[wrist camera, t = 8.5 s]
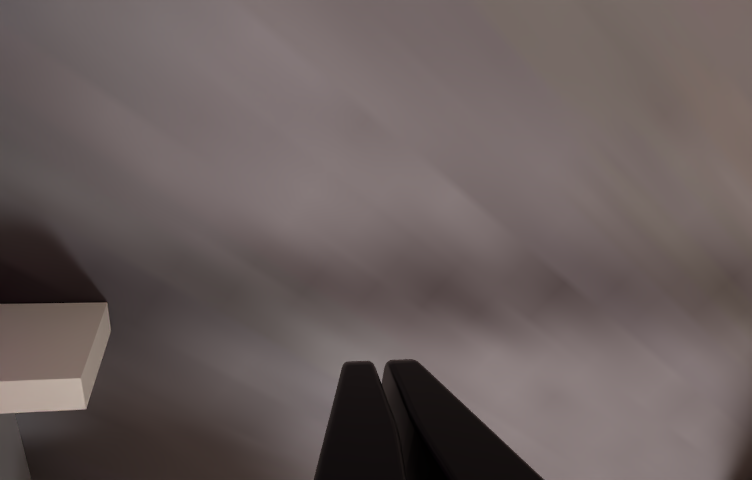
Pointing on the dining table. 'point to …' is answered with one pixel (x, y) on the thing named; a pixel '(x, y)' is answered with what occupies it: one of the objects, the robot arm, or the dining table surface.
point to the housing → (50, 355)
